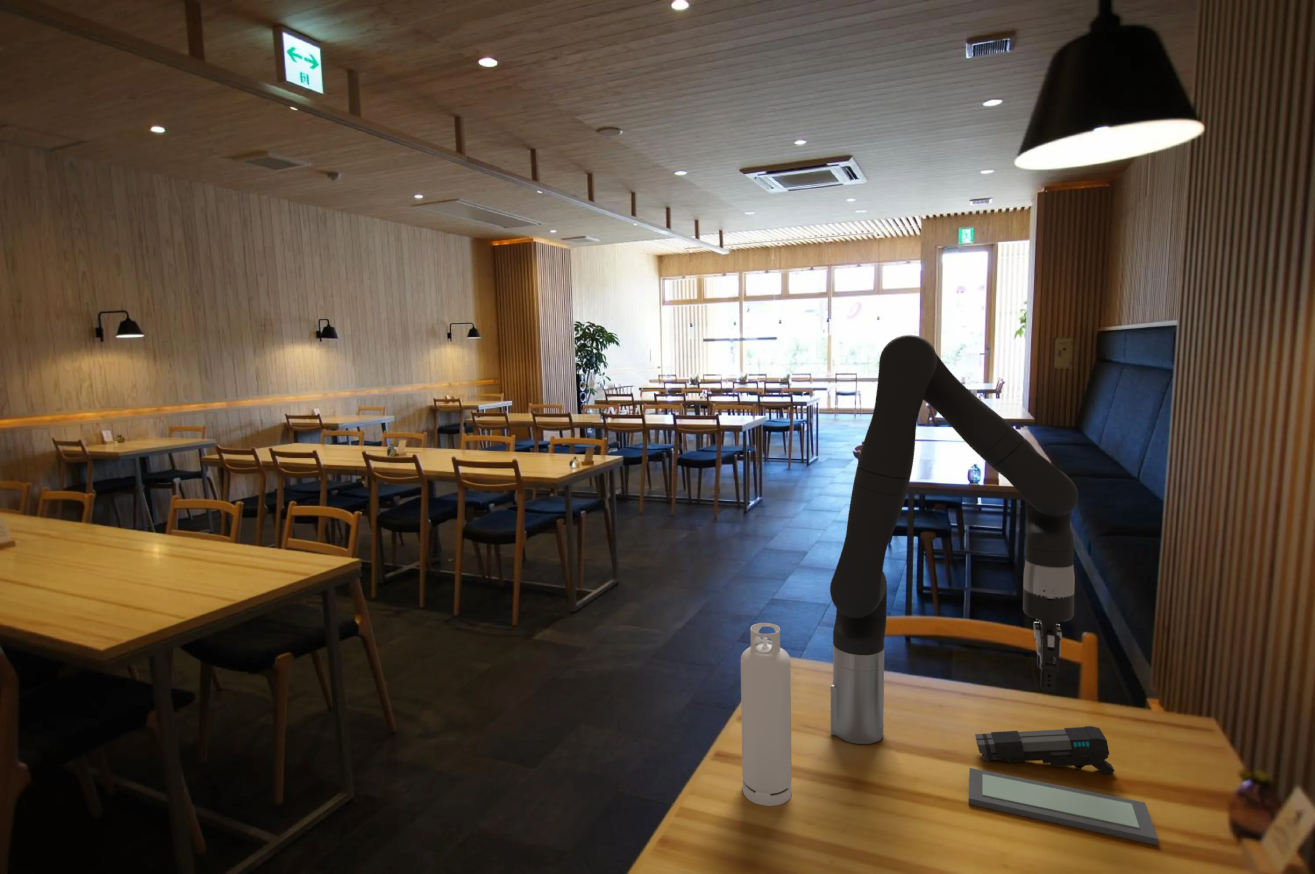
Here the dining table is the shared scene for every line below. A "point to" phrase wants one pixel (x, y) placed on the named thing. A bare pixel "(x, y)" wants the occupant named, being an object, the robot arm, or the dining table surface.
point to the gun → (1049, 747)
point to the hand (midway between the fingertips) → (1046, 679)
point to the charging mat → (1062, 805)
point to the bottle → (766, 718)
